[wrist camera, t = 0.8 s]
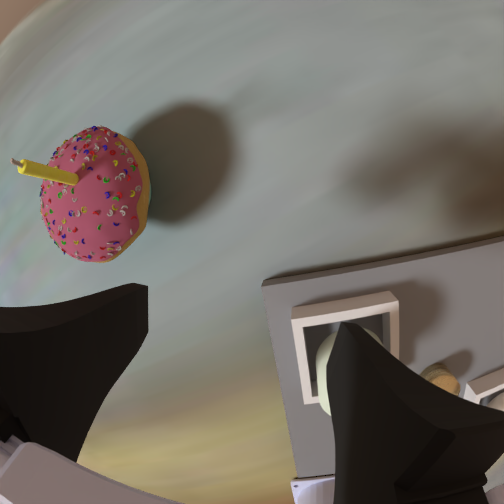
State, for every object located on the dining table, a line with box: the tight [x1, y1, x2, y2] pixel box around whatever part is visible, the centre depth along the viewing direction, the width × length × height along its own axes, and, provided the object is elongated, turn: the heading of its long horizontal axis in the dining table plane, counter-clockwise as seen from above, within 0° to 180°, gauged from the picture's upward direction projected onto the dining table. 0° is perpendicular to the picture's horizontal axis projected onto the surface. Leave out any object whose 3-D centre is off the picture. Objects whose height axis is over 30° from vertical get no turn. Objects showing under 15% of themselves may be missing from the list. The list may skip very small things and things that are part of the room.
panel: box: [261, 236, 504, 478], centre depth 19 cm, size 20×24×4 cm
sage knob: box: [316, 328, 384, 416], centre depth 16 cm, size 4×4×4 cm
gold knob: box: [419, 363, 460, 396], centre depth 18 cm, size 3×3×2 cm
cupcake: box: [10, 125, 152, 263], centre depth 15 cm, size 9×8×12 cm
